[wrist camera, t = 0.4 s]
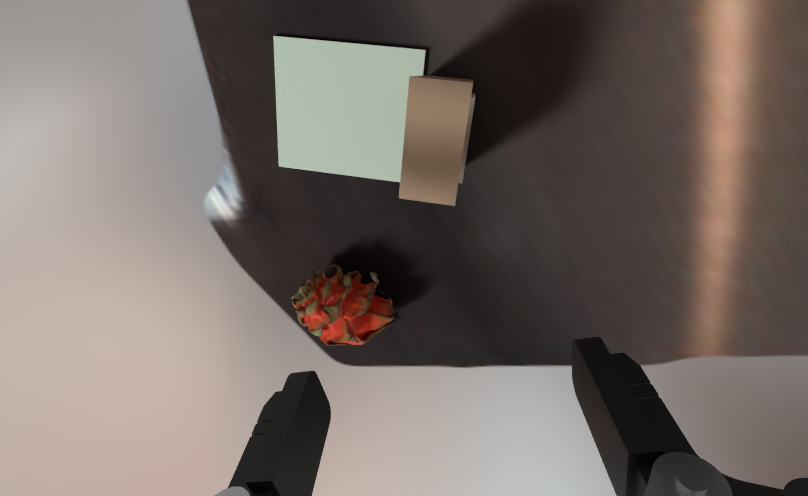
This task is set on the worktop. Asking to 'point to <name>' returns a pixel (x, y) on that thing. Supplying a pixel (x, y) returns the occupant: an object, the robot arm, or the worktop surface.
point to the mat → (343, 105)
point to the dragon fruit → (343, 308)
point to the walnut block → (436, 138)
